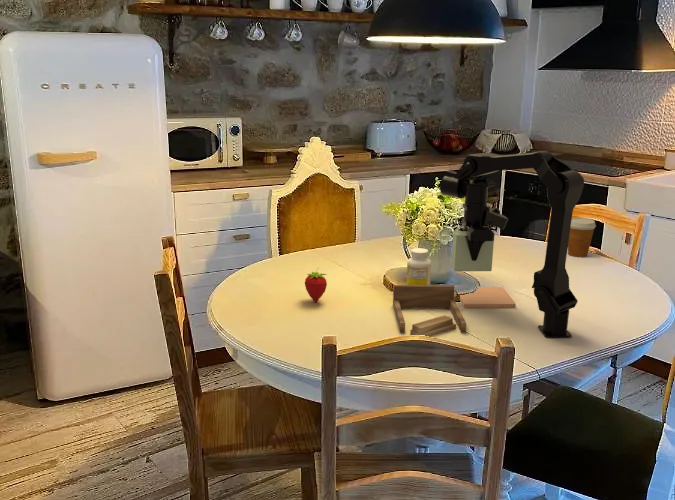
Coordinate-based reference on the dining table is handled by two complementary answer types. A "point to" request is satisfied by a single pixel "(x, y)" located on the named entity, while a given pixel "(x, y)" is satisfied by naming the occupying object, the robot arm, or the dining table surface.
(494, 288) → the tile
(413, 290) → the rack
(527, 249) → the dining table surface
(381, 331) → the dining table surface
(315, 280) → the strawberry
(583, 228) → the disposable coffee cup
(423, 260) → the supplement bottle
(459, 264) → the sage green square block
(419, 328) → the offcut stack
